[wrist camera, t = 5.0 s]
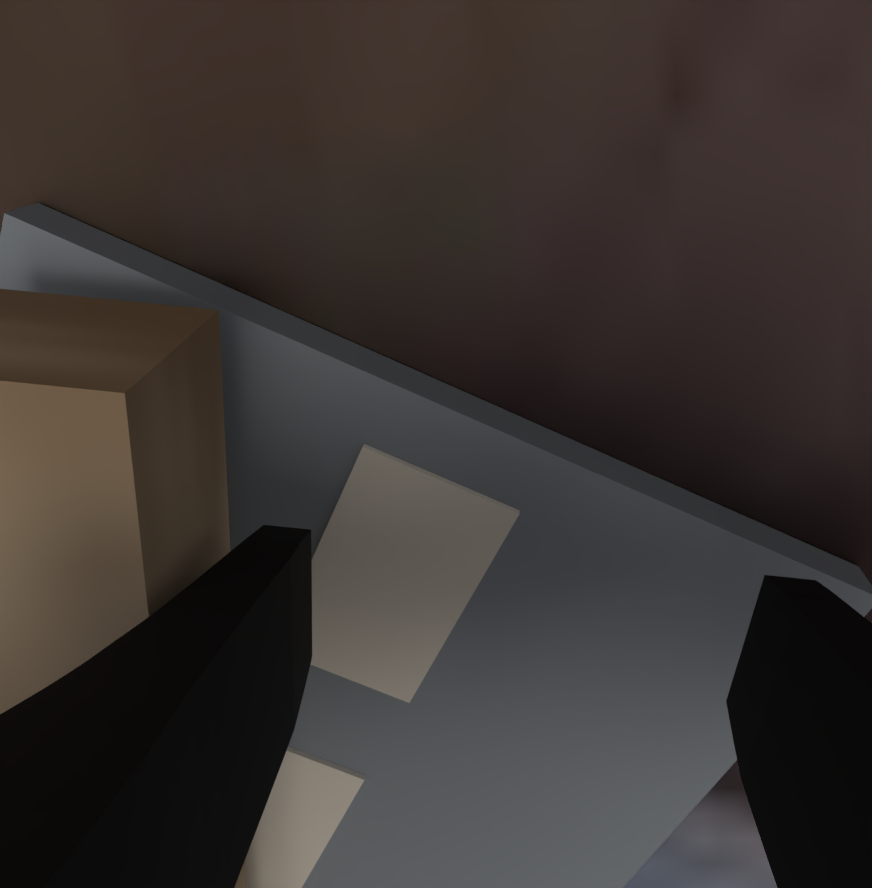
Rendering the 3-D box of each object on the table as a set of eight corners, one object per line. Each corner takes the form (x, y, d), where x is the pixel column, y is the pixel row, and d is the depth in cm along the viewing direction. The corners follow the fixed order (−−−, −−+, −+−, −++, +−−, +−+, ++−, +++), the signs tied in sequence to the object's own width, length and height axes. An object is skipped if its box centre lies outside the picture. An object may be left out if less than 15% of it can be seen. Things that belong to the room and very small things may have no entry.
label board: (454, 1040, 19) (452, 1084, 18) (-93, 853, 17) (-122, 893, 16) (858, 566, 12) (883, 602, 11) (37, 202, 11) (-1, 214, 10)
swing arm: (265, 1016, 17) (214, 1224, 14) (126, 999, 17) (44, 1200, 14) (240, 291, 10) (124, 393, 7) (2, 269, 10) (-211, 359, 7)
